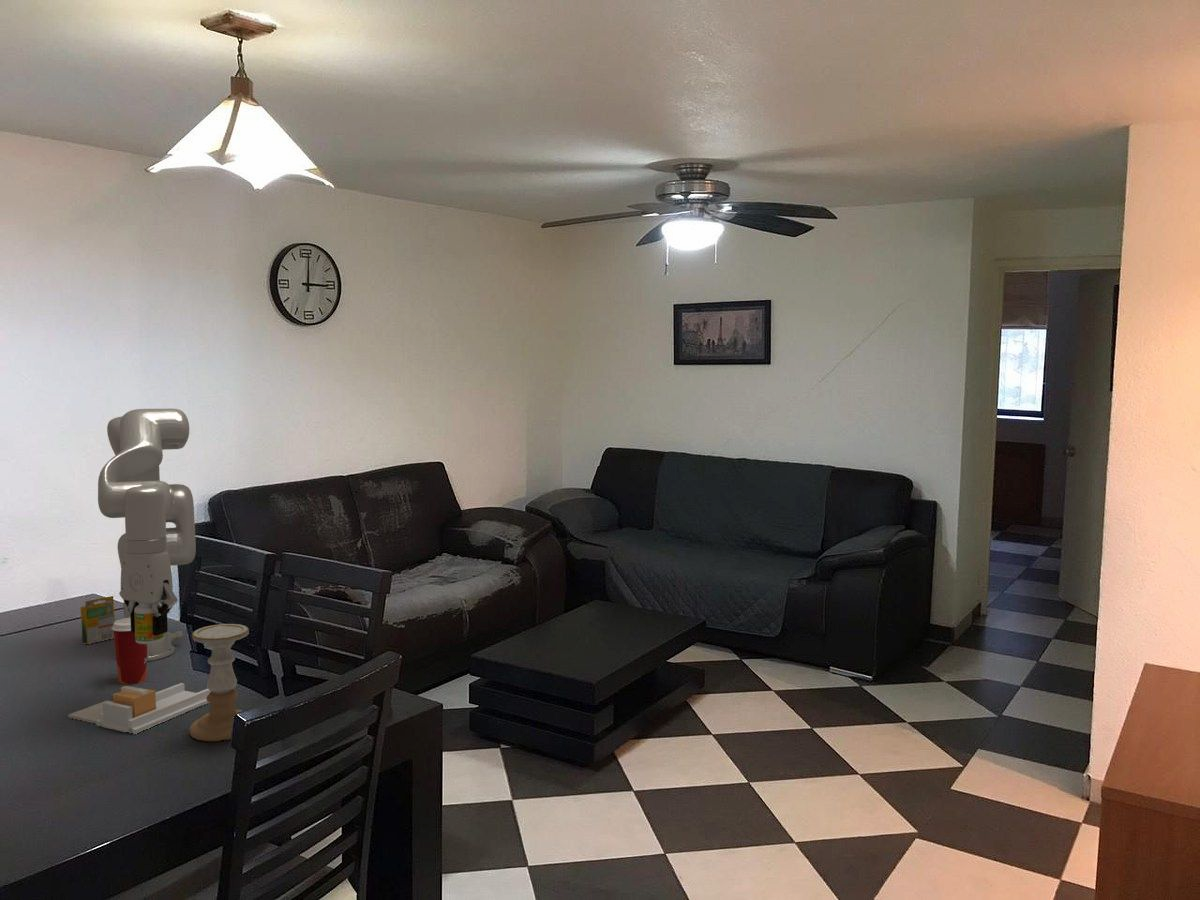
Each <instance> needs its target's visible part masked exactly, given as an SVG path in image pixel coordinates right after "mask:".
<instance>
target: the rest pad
mask: <svg viewBox="0 0 1200 900" xmlns="http://www.w3.org/2000/svg"><path fill="white" fill-rule="evenodd" d="M107 701H108V702H112V701H111V700H105V701H102V702H99V703H97V704H93V705H90V706H88V707H86V708H83V709H81V710H77V711H75V712H72V713H69V714H68V715H67V718H68V717H69V719H72V718H73V720H76V719H77V720H76V721H80V720H82V721H81V722H85V721H86V722H85V723H89V722H90V723H89V724H93V723H95V724H94V725H97V724H96V721H97V720H100V714H101V713H103V703H104V702H107Z"/></svg>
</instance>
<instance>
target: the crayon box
mask: <svg viewBox="0 0 1200 900" xmlns="http://www.w3.org/2000/svg"><path fill="white" fill-rule="evenodd" d="M99 601H105V602H100V603H96V602H99ZM80 619H81V640H82V642H83V643H86V644H90V643H94V644H96V643H95V642H98V641H103V640H107V641H109V640H108V639H111V640H114V639H113V638H114V632H113V630H112V627H113V624H114V622H115V621H116V620H115V603H114V595H111V596H107V597H101V598H95V599H91V600H86V601H85V606H84V605H83V606H80ZM103 642H104V641H103ZM83 643H82V644H83ZM98 643H99V642H98ZM86 644H85V645H86ZM90 645H91V644H90Z"/></svg>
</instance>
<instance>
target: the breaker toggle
mask: <svg viewBox="0 0 1200 900" xmlns="http://www.w3.org/2000/svg"><path fill="white" fill-rule="evenodd" d="M156 692H157V691H156V690H155V689H154V690H153V689H150V688H149V689H148V688H144V687H138V686H130V685H124V686H122V687H120V691H119V692H115V693H113V694H112V702H113V703H117V704H122V705H127V706H131V707H132V718H135V717H137V716H140V715H142V714H145V713H147V712H150V711H153V710H155V709H156Z"/></svg>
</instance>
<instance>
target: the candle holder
mask: <svg viewBox="0 0 1200 900" xmlns="http://www.w3.org/2000/svg"><path fill="white" fill-rule="evenodd" d="M249 633H250V629H249V627H248V626H247V625H243V624H238V623H222V624H221V623H219V624H214V625H212V624H211V625H208V626H203V627H201V628H197V629H196V630H194V631H193V632H192V633H191V639H192V640H193V641H194V642H197V643H199V644H200V643H201V644H206V646H207V647H209V648H210V650H211V654H210V657H209V658H207V663H208V664H209V665H210V671H209V677H208V679H207V683H206V687H207V689H209V690H210V691H211V692H210V693H209V695H208V696H207V698H206V700H207V701H208V702H209V703H210V704H209V705H210V711H209V712H208V713H205V714H204V715H202V716H200V718H198V719H197V720H195V721H194V722H193V723H192V724H191V725H190V727H189V730H188V731H189V735H190V737H191V738H193V739H194V738H195V739H194V740H197V741H201V740H202V741H203V742H222V741H221V740H224V741H229V740H231V739H230V735H231V728H232V722H233V717H234V715H235V714H236V713H238V712H241V711H243V710H242V709H236V703H235V701H236V700H237V699H238V697H239V693H238V692H237V691H236V690H235V687H236V686H237V684H238V679H237V677H236V674H235V672H234V669H233V662H234V661H235V660H236V657H235V655H233V654H232V652H231V650H232V649H231V648H232V647H233V645H234V644H235V642H236V641H239V640H241V639H244V638H245V637H247V636H249ZM225 739H226V740H225Z"/></svg>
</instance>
